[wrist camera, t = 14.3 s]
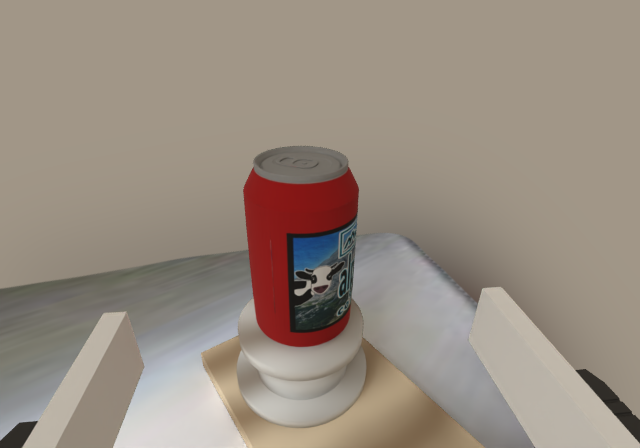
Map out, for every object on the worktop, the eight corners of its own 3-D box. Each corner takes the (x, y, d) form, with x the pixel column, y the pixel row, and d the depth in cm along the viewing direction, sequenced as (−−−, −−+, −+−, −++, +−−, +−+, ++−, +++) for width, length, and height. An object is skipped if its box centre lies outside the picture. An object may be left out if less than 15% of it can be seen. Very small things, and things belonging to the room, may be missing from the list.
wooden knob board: (203, 365, 30) (190, 306, 27) (318, 309, 37) (319, 255, 33) (551, 1008, 10) (651, 1055, 7) (672, 642, 17) (754, 586, 14)
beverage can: (329, 370, 22) (336, 190, 16) (237, 337, 24) (214, 169, 19) (361, 302, 28) (374, 150, 22) (283, 281, 30) (277, 138, 24)
